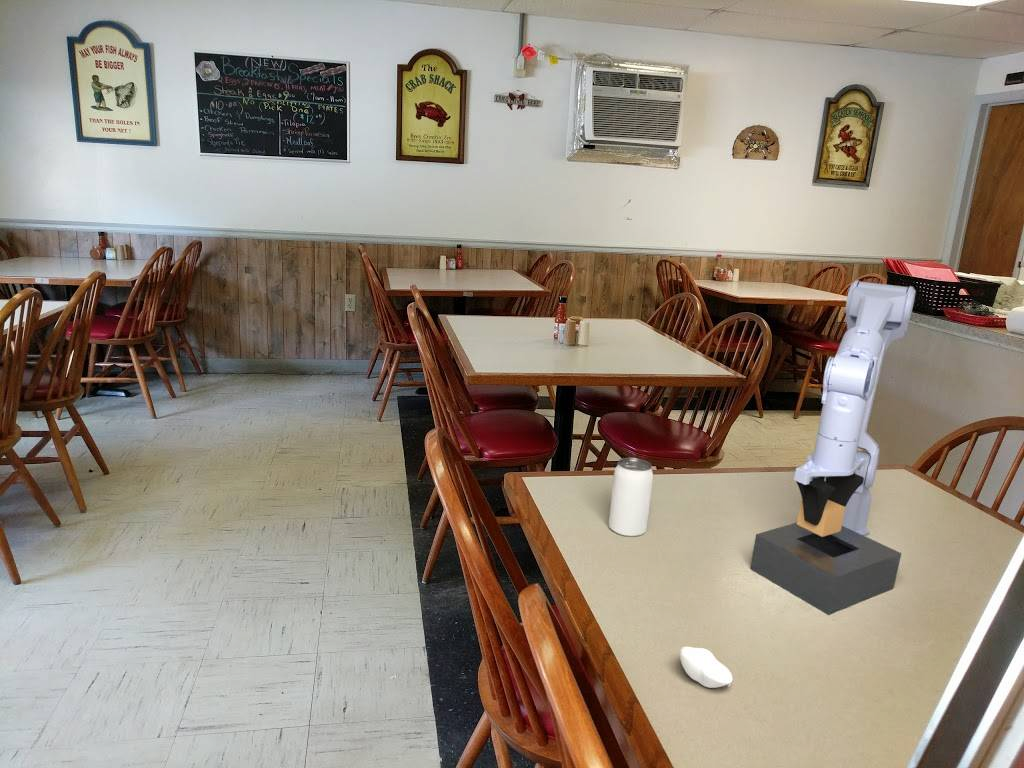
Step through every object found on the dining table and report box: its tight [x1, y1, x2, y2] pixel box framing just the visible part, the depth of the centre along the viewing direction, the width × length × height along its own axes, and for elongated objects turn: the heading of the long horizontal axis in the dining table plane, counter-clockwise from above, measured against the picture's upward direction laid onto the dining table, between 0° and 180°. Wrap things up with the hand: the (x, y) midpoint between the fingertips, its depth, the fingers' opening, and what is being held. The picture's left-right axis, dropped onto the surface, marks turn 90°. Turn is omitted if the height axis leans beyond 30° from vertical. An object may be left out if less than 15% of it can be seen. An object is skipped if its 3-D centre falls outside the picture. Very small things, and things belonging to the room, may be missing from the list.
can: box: [608, 457, 654, 538], centre depth 123 cm, size 6×6×12 cm
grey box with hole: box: [750, 522, 903, 616], centre depth 111 cm, size 16×14×6 cm
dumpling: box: [679, 645, 733, 689], centre depth 86 cm, size 7×5×4 cm
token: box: [796, 500, 846, 537], centre depth 111 cm, size 4×4×4 cm
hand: (821, 519), depth 111 cm, fingers closed on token, 4 cm apart
